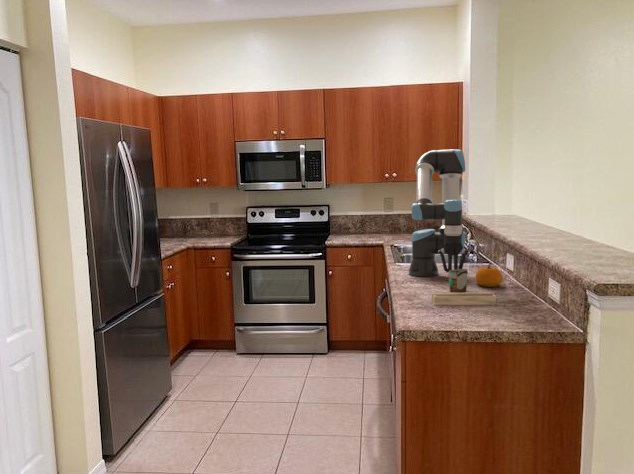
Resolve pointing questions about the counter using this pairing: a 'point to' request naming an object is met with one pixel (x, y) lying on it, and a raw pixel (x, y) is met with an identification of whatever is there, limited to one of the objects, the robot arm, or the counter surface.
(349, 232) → the counter surface
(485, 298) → the board
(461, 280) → the food container
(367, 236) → the counter surface
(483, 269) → the fruit
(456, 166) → the robot arm
